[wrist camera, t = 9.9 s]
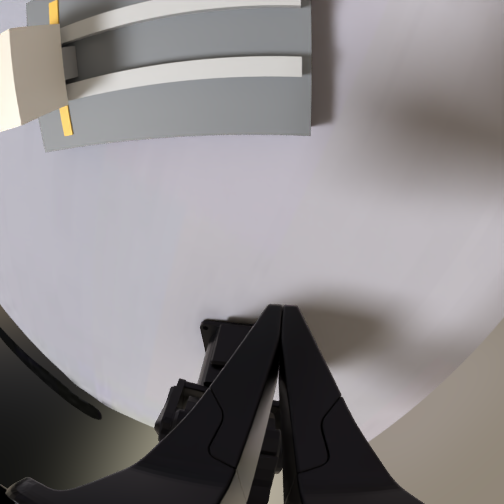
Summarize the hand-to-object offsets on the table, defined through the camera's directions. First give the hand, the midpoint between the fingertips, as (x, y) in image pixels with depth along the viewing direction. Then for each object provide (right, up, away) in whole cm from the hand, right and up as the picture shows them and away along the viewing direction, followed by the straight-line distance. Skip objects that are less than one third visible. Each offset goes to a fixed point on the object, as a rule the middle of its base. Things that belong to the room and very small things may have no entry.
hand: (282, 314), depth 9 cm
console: (-6, +14, +6) cm, 16 cm away
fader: (-12, +13, +5) cm, 19 cm away
